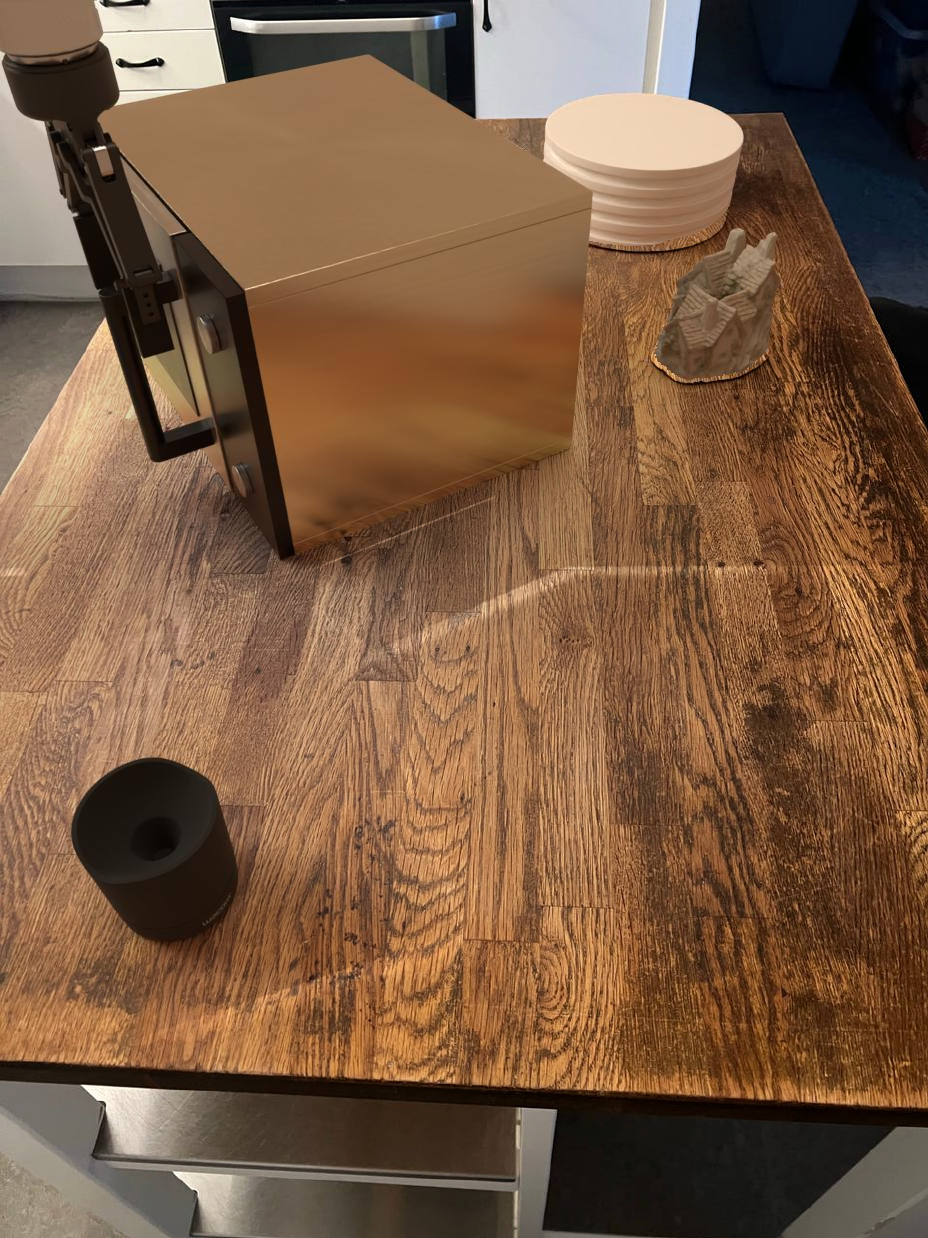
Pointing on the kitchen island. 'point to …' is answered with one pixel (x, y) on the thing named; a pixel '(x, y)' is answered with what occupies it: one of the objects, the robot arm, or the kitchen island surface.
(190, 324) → the microwave door
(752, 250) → the ceramic cottage
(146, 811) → the pen holder
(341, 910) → the kitchen island surface
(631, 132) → the plate stack
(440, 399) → the microwave
